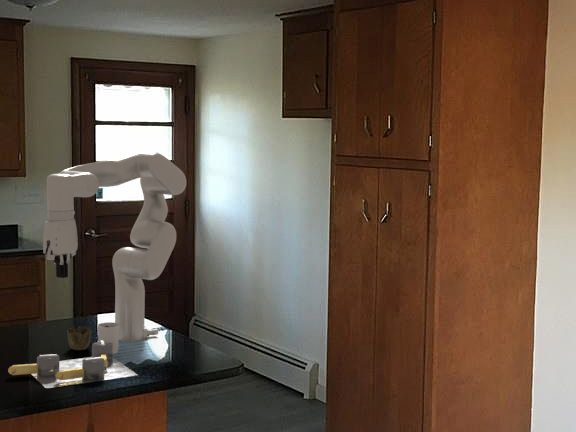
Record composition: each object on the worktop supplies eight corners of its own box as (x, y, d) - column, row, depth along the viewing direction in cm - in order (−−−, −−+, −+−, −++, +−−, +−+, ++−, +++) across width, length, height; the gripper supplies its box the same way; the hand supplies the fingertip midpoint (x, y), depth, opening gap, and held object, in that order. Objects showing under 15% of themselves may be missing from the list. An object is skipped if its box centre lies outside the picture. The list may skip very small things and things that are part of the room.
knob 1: (58, 370, 233) (58, 351, 232) (60, 376, 227) (60, 357, 227) (7, 374, 228) (7, 354, 228) (8, 380, 223) (8, 360, 222)
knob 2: (91, 358, 246) (91, 340, 246) (111, 357, 248) (111, 339, 247) (93, 371, 233) (93, 352, 233) (115, 370, 235) (115, 351, 234)
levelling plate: (109, 359, 251) (109, 354, 251) (138, 380, 232) (138, 374, 231) (22, 370, 237) (22, 365, 237) (45, 393, 218) (46, 387, 217)
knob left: (100, 373, 232) (100, 354, 231) (107, 379, 227) (107, 359, 226) (52, 380, 224) (52, 360, 224) (58, 386, 219) (58, 366, 219)
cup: (69, 358, 251) (69, 332, 250) (64, 352, 257) (64, 327, 257) (94, 355, 254) (94, 330, 254) (88, 349, 261) (88, 325, 260)
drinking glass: (92, 357, 252) (93, 325, 251) (105, 352, 258) (105, 321, 257) (111, 360, 250) (111, 328, 249) (123, 355, 256) (123, 323, 255)
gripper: (69, 212, 250) (70, 271, 252) (32, 217, 237) (33, 280, 239) (88, 214, 246) (89, 274, 248) (51, 219, 233) (52, 283, 235)
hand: (62, 277), depth 244 cm, fingers closed
